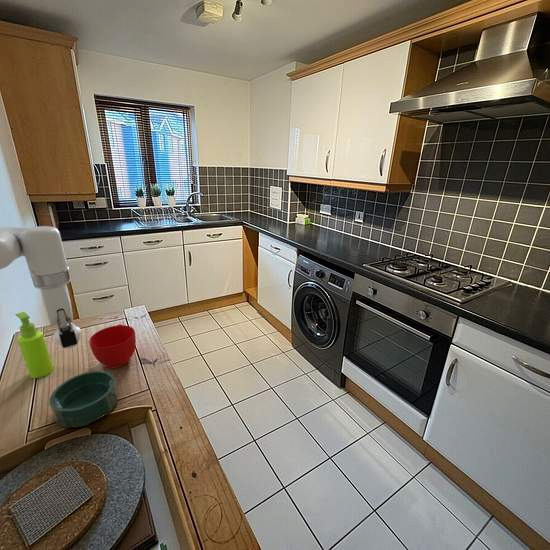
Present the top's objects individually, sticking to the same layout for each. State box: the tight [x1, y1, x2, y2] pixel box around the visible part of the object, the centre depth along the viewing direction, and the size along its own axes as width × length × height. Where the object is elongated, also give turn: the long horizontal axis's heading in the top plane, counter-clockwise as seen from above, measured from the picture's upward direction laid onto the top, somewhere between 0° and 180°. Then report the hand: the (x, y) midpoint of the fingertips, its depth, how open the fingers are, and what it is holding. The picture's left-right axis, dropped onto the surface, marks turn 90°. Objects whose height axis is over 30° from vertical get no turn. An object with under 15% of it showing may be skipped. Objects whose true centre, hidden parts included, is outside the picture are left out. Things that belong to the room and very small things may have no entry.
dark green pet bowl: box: [49, 370, 120, 428], centre depth 78 cm, size 15×15×6 cm
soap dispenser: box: [15, 311, 54, 379], centre depth 88 cm, size 6×7×20 cm
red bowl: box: [88, 323, 137, 369], centre depth 96 cm, size 13×17×10 cm
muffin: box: [52, 322, 82, 349], centre depth 77 cm, size 6×6×7 cm
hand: (68, 338), depth 78 cm, fingers closed on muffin, 6 cm apart
